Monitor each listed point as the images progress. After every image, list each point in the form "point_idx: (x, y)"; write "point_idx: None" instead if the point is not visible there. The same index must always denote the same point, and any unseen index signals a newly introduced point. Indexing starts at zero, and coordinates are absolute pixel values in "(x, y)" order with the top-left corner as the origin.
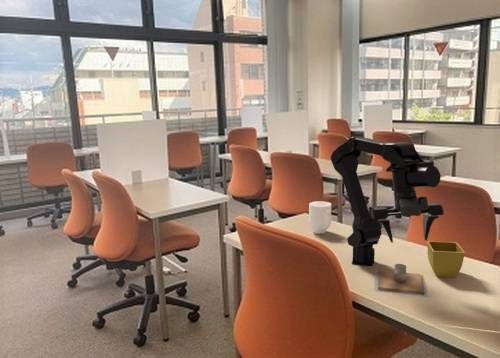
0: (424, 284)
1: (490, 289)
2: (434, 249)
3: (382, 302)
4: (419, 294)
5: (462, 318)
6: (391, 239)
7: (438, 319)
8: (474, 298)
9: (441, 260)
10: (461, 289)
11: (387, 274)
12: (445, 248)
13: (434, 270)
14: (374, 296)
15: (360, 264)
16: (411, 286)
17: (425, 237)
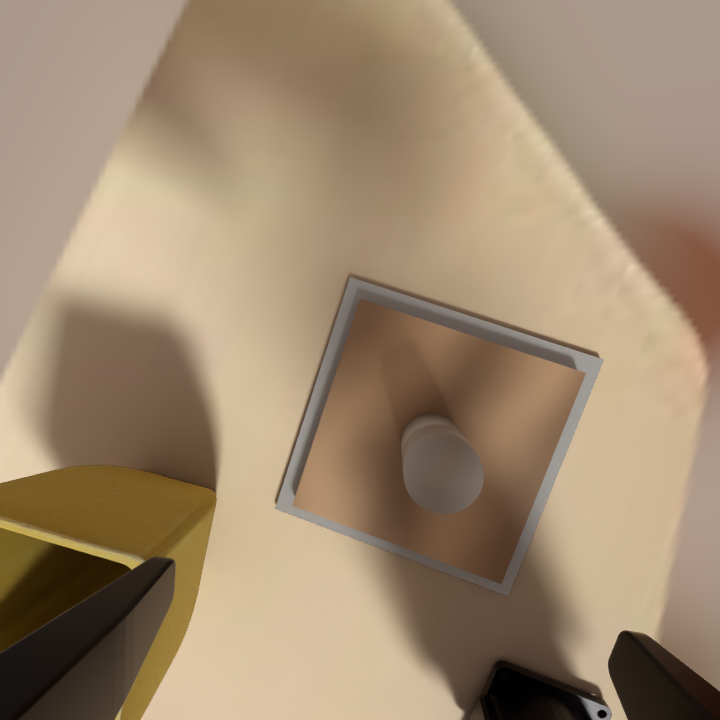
0: (313, 406)
1: (42, 338)
2: None
3: (601, 241)
4: (383, 301)
5: (288, 72)
6: (687, 676)
7: (397, 63)
8: (149, 257)
9: (140, 509)
10: (163, 349)
11: (470, 522)
12: None
13: (213, 499)
14: (618, 308)
15: (564, 688)
16: (399, 364)
17: (143, 587)
